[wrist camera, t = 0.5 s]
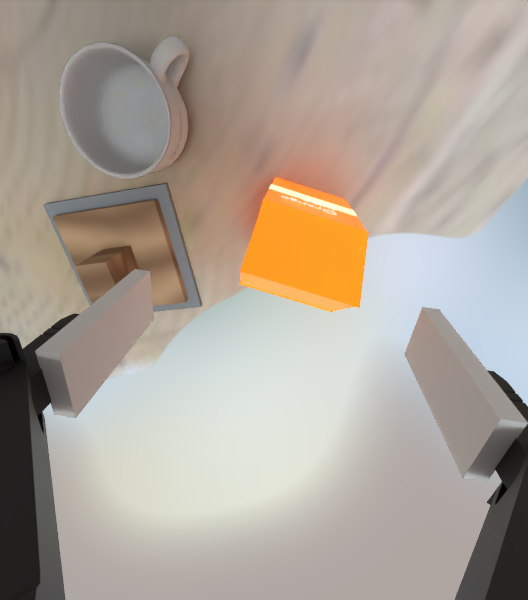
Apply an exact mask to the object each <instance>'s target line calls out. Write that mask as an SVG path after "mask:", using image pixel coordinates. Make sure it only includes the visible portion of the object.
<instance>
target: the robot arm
mask: <svg viewBox="0 0 528 600" xmlns="http://www.w3.org/2000/svg"><path fill="white" fill-rule="evenodd" d="M153 320H154V315H153V302H152V289H151V276H150V271H145V270H138V269H134V270H133V271H132V272H131V273H129V274H128V275H127V276H126V277H125V278H123V279H122V280H121V281H120V282H119V283H117V284H116V285H115V286H114V287H112V288H111V289H110V290H109V291H108V292H106V293H105V294H104V295H103V296H101V297H100V298H99V299H98V300H97V301H95V302H94V303H93V304H92V305H90V306H89V307H88V308H87V309H86V310H84V311H83V312H82V313H81V314H72V315H70V316H67V317H65V318H63V319H61V320H59V321H58V322H57V323H55V324H54V325H53V326H52V327H51V329H50V328H49V329H48V330H46V331H45V332H44V333H43V335H40V336H39V337H37V338H36V339H35V340H34V341H32V342H31V343H30V344H28V345H27V346H26V347H25V348H23V349H22V347H21V344H20V341H19V338H18V337H17V336H16V335H14V334H11V333H0V600H65V593H64V584H63V576H62V567H61V558H60V550H59V540H58V532H57V523H56V515H55V505H54V496H53V489H52V479H51V470H50V462H49V453H48V445H47V435H46V426H45V418H44V415H43V412H42V411H43V410H44V409H45V408H46V407H47V406H48V405H49V404H50V403H51V405H52V408H53V412H54V415H59V416H65V417H72V418H76V417H77V416H78V415H79V413H80V412H81V411H82V409H83V408H84V407H85V406H86V404H87V403H88V402H89V401H90V399H91V398H92V397H93V396H94V394H95V393H96V392H97V390H98V389H99V388H100V387H101V385H102V384H103V383H104V381H105V380H106V379H107V378H108V377H109V375H110V374H111V373H112V371H113V370H114V369H115V368H116V366H117V365H118V364H119V363H120V361H121V360H122V359H123V358H124V356H125V355H126V354H127V352H128V351H129V350H130V349H131V347H132V346H133V345H134V344H135V342H136V341H137V340H138V339H139V337H140V336H141V335H142V333H143V332H144V331H145V330H146V328H147V327H148V326H149V325H150V323H151V322H152V321H153ZM405 356H406V358H407V360H408V362H409V364H410V366H411V369H412V371H413V373H414V375H415V377H416V379H417V381H418V384H419V386H420V388H421V390H422V392H423V394H424V396H425V398H426V400H427V403H428V405H429V407H430V409H431V411H432V413H433V415H434V418H435V420H436V422H437V424H438V426H439V428H440V430H441V432H442V435H443V437H444V439H445V441H446V443H447V445H448V447H449V449H450V451H451V454H452V456H453V458H454V460H455V462H456V464H457V466H458V469H459V471H460V473H461V475H462V477H463V478H465V479H472V480H478V481H484V482H487V481H488V480H489V478H490V477H491V475H492V474H493V473H494V471H495V470H496V471H497V473H498V475H499V477H500V478H501V480H502V482H501V484H500V485H499V487H498V488H497V489H496V491H495V492H494V494H493V495H492V496H491V498H490V499H489V500H488V501H487V503H489V504H490V505H491V506H490V508H489V511H488V514H487V516H486V519H485V522H484V524H483V527H482V529H481V532H480V535H479V537H478V540H477V543H476V545H475V548H474V551H473V553H472V556H471V558H470V561H469V563H468V566H467V569H466V572H465V574H464V577H463V579H462V582H461V584H460V587H459V590H458V592H457V595H456V598H455V600H528V407H527V405H526V404H525V403H523V400H522V399H521V398H520V397H519V396H518V394H515V391H514V390H513V388H512V387H511V386H510V385H509V384H508V382H507V381H505V380H504V379H503V378H502V377H500V376H499V375H498V374H496V373H495V372H494V371H487V370H486V369H485V367H484V366H483V365H482V363H481V362H480V361H479V360H478V358H477V357H476V356H475V355H474V353H473V352H472V351H471V349H470V348H469V347H468V346H467V344H466V343H465V342H464V341H463V339H462V338H461V337H460V335H459V334H458V333H457V332H456V330H455V329H454V328H453V327H452V325H451V324H450V323H449V321H448V320H447V319H446V318H445V316H444V315H443V314H442V313H441V311H440V310H439V309H432V308H425V307H422V310H421V313H420V315H419V318H418V320H417V323H416V326H415V328H414V331H413V333H412V336H411V339H410V342H409V344H408V347H407V349H406V352H405Z"/></svg>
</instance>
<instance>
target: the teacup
mask: <svg viewBox="0 0 528 600" xmlns="http://www.w3.org/2000/svg"><path fill="white" fill-rule="evenodd" d="M189 56H190V52H189V49H188V47H187V45H186V43H185V42H184V41H183V40H182V39H181V38H180V37H178V36H176V35H171V36H168V37H166V38H164V39H163V40H162V41H161V42H160V43H159V44H158V45H157V47H156V48H155V50H154V51H153V53H152V56H151V59H150V62H148V61H146V60H144V59H143V58H141V57H139V56H137V55H136V54H134V53H133V52H131V51H130V50H128V49H126V48H124V47H122V46H120V45H117V44H114V43H107V42H98V43H92V44H89V45H86V46H84V47H83V48H81V49H80V50H78V51H77V52H75V53H74V54H73V55H72V57H71V58H70V59H69V60H68V62H67V64H66V65H65V67H64V69H63V72H62V75H61V79H60V84H59V108H60V113H61V117H62V121H63V124H64V126H65V129H66V131H67V133H68V135H69V137H70V139H71V141H72V143H73V145H74V146H75V147H76V149H77V150H78V152H79V153H80V154H81V156H82V157H83V158H84V159H85V160H86V161H87V162H88V163H90V164H91V165H92V166H93V167H95V168H96V169H97V170H99V171H101V172H103V173H104V174H107V175H109V176H112V177H116V178H124V179H132V178H138V177H142V176H144V175H147V174H151V173H154V172H157V171H160V170H162V169H164V168H166V167H168V166H170V165H171V164H172V163H173V162H174V161H175V160H176V159H177V158H178V157H179V155H180V154H181V152H182V151H183V148H184V146H185V143H186V140H187V135H188V116H187V111H186V107H185V104H184V101H183V99H182V97H181V94H180V92H179V91H178V89H177V87H178V85H179V81H180V79H181V77H182V75H183V73H184V70H185V68H186V66H187V64H188V61H189Z"/></svg>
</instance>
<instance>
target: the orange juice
mask: <svg viewBox="0 0 528 600" xmlns="http://www.w3.org/2000/svg"><path fill="white" fill-rule="evenodd" d="M367 240H368V232H367V231H366V230H365V228H364V227H363V225H362V224H361V222H360V221H359V219H358V218H357V215H356V214H355V212H354V211H353V210H352V209H351V207H350V206H349V204H348V202H347V201H346V199H343V198H340V197H336V196H333V195H330V194H327V193H324V192H321V191H318V190H315V189H311V188H308V187H305V186H302V185H299V184H296V183H293V182H290V181H286V180H283V179H280V178H277V177H275V179H274V181H273V183H272V184H271V185H270V187H269V190H268V192H267V194H266V196H265V197H264V199H263V201H262V205H261V209H260V212H259V216H258V219H257V222H256V225H255V228H254V231H253V234H252V237H251V240H250V243H249V246H248V249H247V252H246V255H245V258H244V261H243V264H242V267H241V270H240V271H241V281H240V284H241V285H244V286H247V287H250V288H254V289H257V290H261V291H264V292H267V293H270V294H274V295H277V296H280V297H284V298H287V299H290V300H293V301H297V302H300V303H303V304H307V305H310V306H313V307H316V308H320V309H323V310H326V311H330V312H333V311H336V310H341V309H345V308H350V307H360V299H361V290H362V281H363V274H364V265H365V257H366V247H367Z"/></svg>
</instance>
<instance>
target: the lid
mask: <svg viewBox="0 0 528 600" xmlns="http://www.w3.org/2000/svg"><path fill="white" fill-rule="evenodd" d="M53 219H54V222H55V224H56V226H57V228H58V230H59V232H60V235H61V237H62V239H63V241H64V243H65V245H66V248H67V250H68V252H69V254H70V256H71V258H72V261H73V263H74V265H75V266H74V267H75V269H76V271H77V273H78V275H79V277H80V279H81V282H82V284H83V286H84V288H85V290H86V292H87V295H88V297H90V300H91V302H92V304H93V303H94V302H95V301H97V300H98V299H99V298H100V297H101V296H103V295H104V294H105V293H106V292H108V291H109V290H110V289H111V288H112V287H114V286H115V285H116V284H117V283H119V282H120V281H121V280H122V279H123V278H125V277H126V276H127V275H128V274H129V273H131V272H132V271H133V270H134V269H138V270H145V271H150V276H151V289H152V302H153V306H157V305H167V304H176V303H186V301H187V300H188V296H187V292H186V289H185V286H184V283H183V279H182V276H181V273H180V269H179V266H178V263H177V260H176V256H175V253H174V250H173V246H172V243H171V240H170V237H169V233H168V230H167V227H166V223H165V220H164V217H163V214H162V210H161V207H160V204H159V200H158V199H152V200H146V201H139V202H133V203H127V204H121V205H115V206H109V207H102V208H96V209H90V210H84V211H78V212H71V213H65V214H59V215H56V216H53Z"/></svg>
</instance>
